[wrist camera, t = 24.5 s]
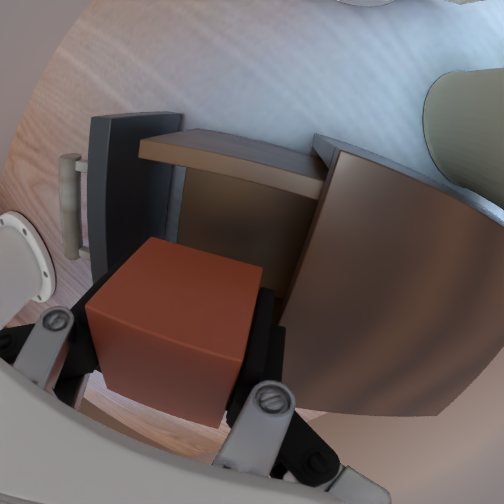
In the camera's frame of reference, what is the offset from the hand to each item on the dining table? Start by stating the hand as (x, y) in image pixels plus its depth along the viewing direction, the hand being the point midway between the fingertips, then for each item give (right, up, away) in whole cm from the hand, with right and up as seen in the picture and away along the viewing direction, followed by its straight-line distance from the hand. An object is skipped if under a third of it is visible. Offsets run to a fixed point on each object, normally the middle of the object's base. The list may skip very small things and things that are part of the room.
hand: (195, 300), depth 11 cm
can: (+19, +11, +3) cm, 22 cm away
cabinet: (+12, +2, +9) cm, 15 cm away
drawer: (-1, +5, +8) cm, 10 cm away
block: (0, 0, 0) cm, 0 cm away
